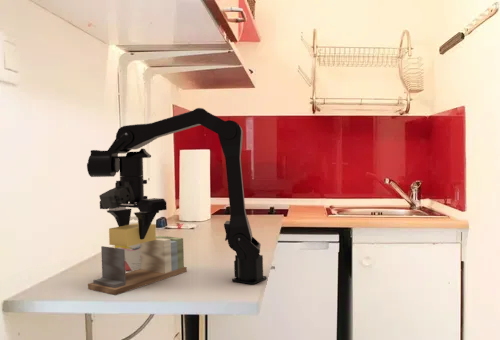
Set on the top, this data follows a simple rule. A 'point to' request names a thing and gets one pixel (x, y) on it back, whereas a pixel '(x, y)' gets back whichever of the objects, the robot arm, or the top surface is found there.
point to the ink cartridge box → (132, 253)
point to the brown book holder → (152, 265)
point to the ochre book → (130, 235)
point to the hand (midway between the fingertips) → (133, 238)
